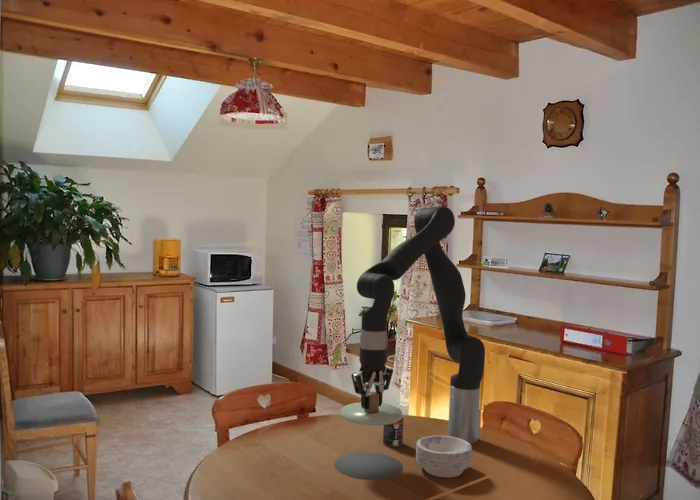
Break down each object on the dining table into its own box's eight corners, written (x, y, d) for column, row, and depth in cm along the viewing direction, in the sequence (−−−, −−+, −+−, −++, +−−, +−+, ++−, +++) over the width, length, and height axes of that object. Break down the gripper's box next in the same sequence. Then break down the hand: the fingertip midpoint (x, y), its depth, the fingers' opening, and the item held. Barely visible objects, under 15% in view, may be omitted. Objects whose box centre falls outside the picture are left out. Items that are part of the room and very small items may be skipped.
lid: (373, 402, 184) (374, 382, 183) (415, 417, 171) (415, 396, 170) (328, 412, 173) (328, 391, 172) (368, 429, 160) (369, 407, 159)
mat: (371, 449, 186) (371, 447, 186) (417, 470, 171) (417, 468, 171) (320, 464, 173) (320, 461, 173) (365, 488, 159) (365, 486, 159)
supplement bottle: (401, 450, 186) (402, 413, 185) (381, 448, 187) (382, 411, 186) (403, 443, 192) (405, 407, 191) (384, 441, 193) (385, 405, 192)
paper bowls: (431, 456, 182) (432, 430, 181) (480, 470, 173) (481, 442, 173) (404, 473, 170) (406, 444, 169) (455, 488, 161) (457, 458, 160)
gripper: (383, 340, 178) (381, 399, 179) (344, 346, 169) (342, 408, 170) (401, 345, 172) (399, 406, 173) (363, 351, 163) (361, 415, 164)
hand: (371, 407), depth 171 cm, fingers closed on lid, 4 cm apart
